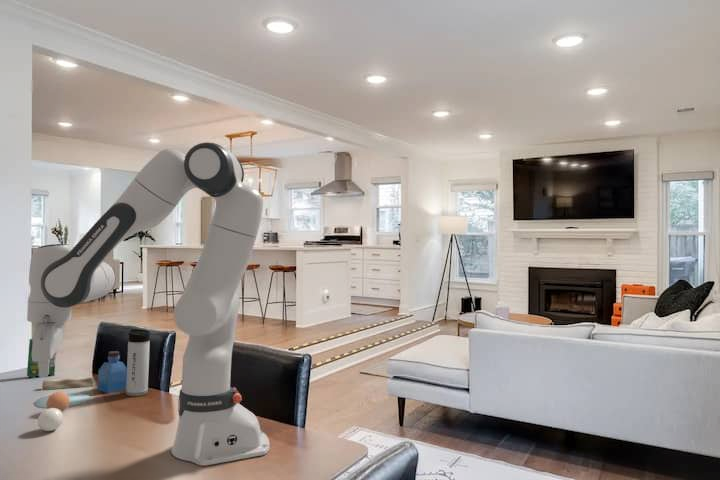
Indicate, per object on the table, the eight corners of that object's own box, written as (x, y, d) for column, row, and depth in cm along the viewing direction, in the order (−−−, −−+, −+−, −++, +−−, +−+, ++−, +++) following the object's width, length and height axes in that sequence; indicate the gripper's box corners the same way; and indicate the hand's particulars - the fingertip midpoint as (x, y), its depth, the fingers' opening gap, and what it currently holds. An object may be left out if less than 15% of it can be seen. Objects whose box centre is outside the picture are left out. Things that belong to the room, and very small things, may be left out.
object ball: (71, 408, 141) (71, 389, 141) (66, 415, 136) (67, 394, 136) (48, 409, 140) (49, 390, 140) (43, 416, 134) (44, 396, 134)
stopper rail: (92, 384, 164) (93, 377, 164) (92, 386, 163) (92, 378, 163) (43, 388, 158) (43, 380, 158) (42, 389, 157) (42, 381, 157)
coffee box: (54, 373, 175) (55, 336, 175) (55, 375, 173) (57, 337, 173) (26, 376, 170) (28, 338, 170) (27, 378, 168) (29, 340, 168)
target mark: (93, 392, 157) (93, 391, 157) (84, 406, 143) (84, 405, 143) (42, 394, 152) (42, 393, 152) (28, 409, 139) (28, 408, 139)
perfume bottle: (127, 389, 161) (128, 352, 161) (108, 393, 156) (110, 355, 156) (115, 385, 165) (117, 349, 165) (97, 389, 160) (99, 352, 160)
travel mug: (140, 389, 162) (142, 327, 162) (151, 393, 158) (154, 330, 158) (121, 393, 157) (124, 329, 157) (132, 397, 153) (135, 332, 153)
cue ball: (65, 425, 129) (66, 404, 129) (59, 433, 123) (60, 411, 124) (40, 427, 127) (41, 405, 127) (34, 435, 122) (35, 413, 122)
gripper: (59, 319, 109) (56, 382, 109) (70, 306, 127) (67, 360, 127) (25, 319, 106) (22, 384, 106) (41, 307, 125) (38, 362, 125)
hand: (47, 371), depth 117 cm, fingers open, 8 cm apart
